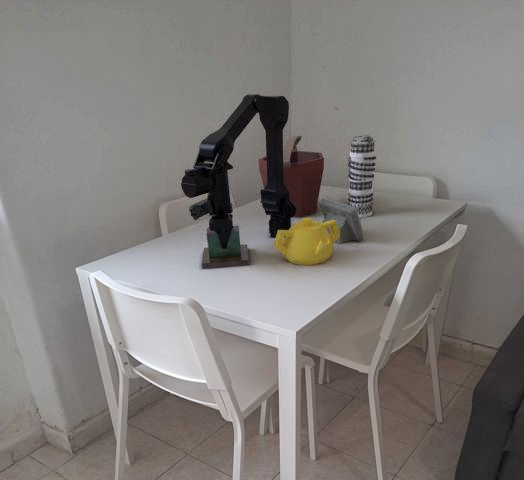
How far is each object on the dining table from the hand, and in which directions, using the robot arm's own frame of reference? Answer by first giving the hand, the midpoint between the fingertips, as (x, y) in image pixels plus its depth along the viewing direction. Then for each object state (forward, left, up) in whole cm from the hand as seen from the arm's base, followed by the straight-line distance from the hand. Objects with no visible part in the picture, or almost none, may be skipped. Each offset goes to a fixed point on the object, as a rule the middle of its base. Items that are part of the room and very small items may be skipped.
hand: (224, 245), depth 141 cm
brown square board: (0, 0, -4) cm, 4 cm away
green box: (0, 0, -2) cm, 2 cm away
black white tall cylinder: (-39, -42, -4) cm, 57 cm away
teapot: (-25, +1, -4) cm, 25 cm away
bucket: (-16, -47, -4) cm, 50 cm away
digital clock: (-33, -18, -4) cm, 38 cm away
